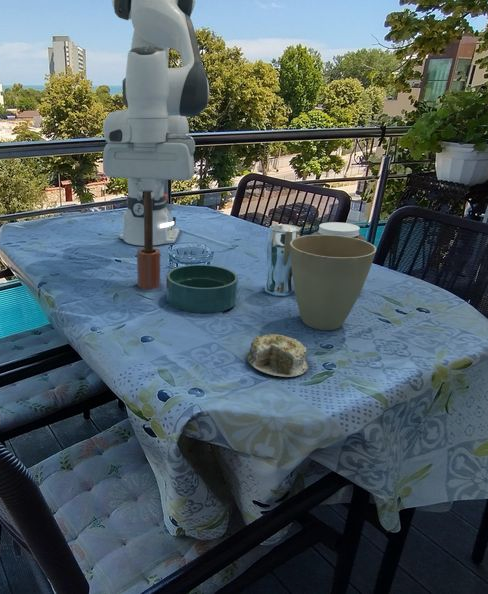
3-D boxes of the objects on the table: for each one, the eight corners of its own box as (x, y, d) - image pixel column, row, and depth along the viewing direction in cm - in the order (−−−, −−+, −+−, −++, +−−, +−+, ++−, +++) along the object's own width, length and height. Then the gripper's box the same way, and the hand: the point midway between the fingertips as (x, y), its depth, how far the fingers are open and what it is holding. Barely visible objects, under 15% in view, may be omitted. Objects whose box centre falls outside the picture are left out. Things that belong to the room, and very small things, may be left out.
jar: (312, 277, 115) (320, 218, 109) (362, 287, 109) (373, 224, 103) (296, 292, 106) (304, 228, 101) (350, 303, 100) (361, 236, 94)
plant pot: (292, 302, 101) (300, 231, 95) (366, 316, 94) (380, 240, 88) (272, 329, 90) (280, 249, 83) (355, 347, 82) (371, 262, 76)
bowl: (179, 285, 112) (179, 261, 109) (242, 293, 106) (244, 269, 104) (156, 309, 99) (156, 283, 96) (227, 320, 93) (229, 292, 91)
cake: (248, 348, 84) (251, 320, 82) (306, 356, 81) (311, 327, 79) (243, 372, 75) (246, 341, 73) (308, 382, 72) (313, 351, 70)
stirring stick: (146, 250, 108) (145, 189, 103) (154, 251, 108) (153, 190, 102) (142, 252, 107) (142, 191, 101) (151, 253, 106) (150, 191, 101)
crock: (142, 282, 114) (142, 246, 111) (163, 284, 112) (163, 248, 109) (134, 289, 109) (133, 253, 106) (155, 292, 108) (155, 255, 104)
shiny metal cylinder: (288, 299, 103) (296, 233, 97) (258, 293, 106) (264, 229, 101) (297, 289, 108) (305, 226, 103) (268, 283, 112) (274, 222, 106)
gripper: (199, 132, 96) (197, 199, 102) (111, 131, 104) (113, 194, 109) (190, 134, 91) (189, 204, 96) (98, 133, 98) (101, 199, 104)
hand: (148, 199), depth 103 cm, fingers closed on stirring stick, 2 cm apart
